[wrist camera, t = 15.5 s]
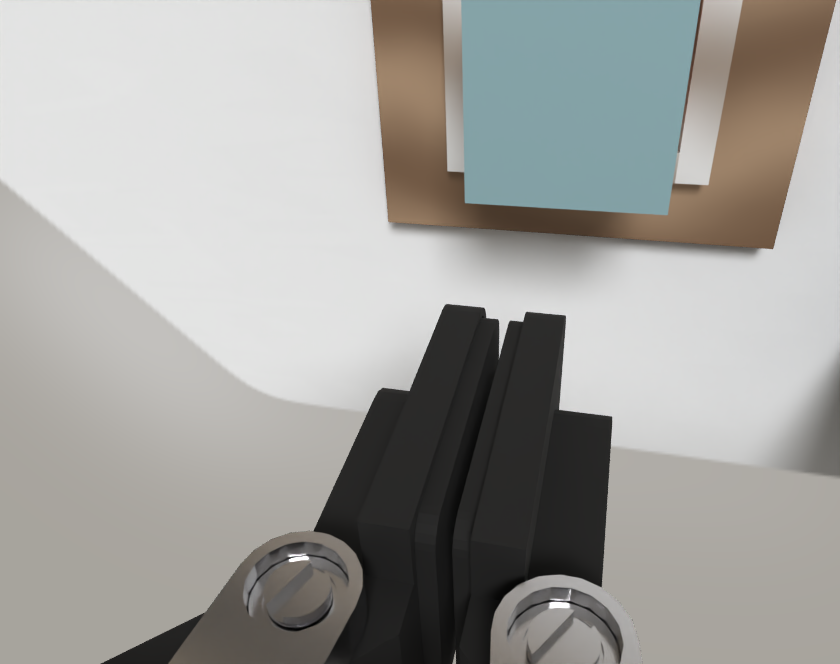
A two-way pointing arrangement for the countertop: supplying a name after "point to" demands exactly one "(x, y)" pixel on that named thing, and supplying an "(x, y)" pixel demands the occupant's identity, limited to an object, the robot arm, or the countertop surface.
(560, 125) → the teal and orange block
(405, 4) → the walnut board
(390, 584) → the robot arm
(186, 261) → the countertop surface
